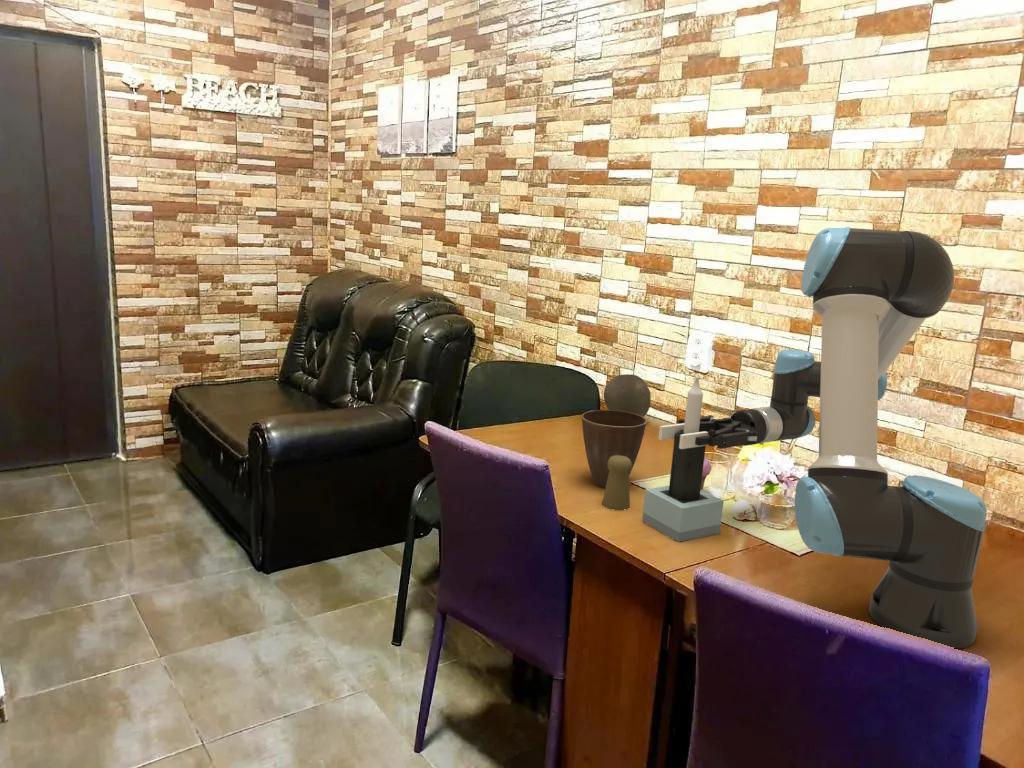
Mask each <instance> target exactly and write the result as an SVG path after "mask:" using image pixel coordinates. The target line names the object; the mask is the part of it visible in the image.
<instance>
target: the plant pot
mask: <svg viewBox="0 0 1024 768" xmlns="http://www.w3.org/2000/svg"><path fill="white" fill-rule="evenodd" d="M647 422H648V421H647V418H645V416H644V417H642V416H640V415H637V414H634V413H630V412H624V411H617V410H609V409H597V410H589V411H586V412H584V413H582V415H581V424H582V426H581V427H582V435H583V443H584V447H585V454H586V459H587V463H588V468H589V471H590V474H591V479H592V480H593V483H594V485H597V486H599V487H601V488H606V484H607V479H608V475H609V469H608V465H607V464H608V460H609V458H610V457H612V456H615V455H620V456H625V457H628V458H629V459H630V460H631V462H632V468H631V470H630V472H629V473H628V474H629V476H630V475H631V473H632V470H633V468H634V465H635V462H637V461H636V460H637V457H638V455H639V453H640V449H641V447H642V446H641V445H642V441H643V438H644V434H645V431H646V426H647Z"/></svg>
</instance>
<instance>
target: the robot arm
mask: <svg viewBox="0 0 1024 768" xmlns="http://www.w3.org/2000/svg"><path fill="white" fill-rule="evenodd" d="M954 283H955V271H954V266H953V263H952V260H951V257H950V255H949V253H948V252H947V250H946V249H945V248H944V247H943V245H942V244H940V243H939V241H938V240H935V238H933V237H931V236H930V235H927V234H924V233H922V232H918V231H915V230H914V231H913V230H912V231H911V230H887V229H873V228H872V229H871V228H870V229H869V228H857V227H854V228H853V227H850V226H847V227H826V228H823V229H821V230H820V231H819V232H818V233H817V235H816V236H815V237H814V238H813V241H812V243H811V245H810V247H809V250H808V251H807V255H806V258H805V262H804V266H803V269H802V276H801V292H802V294H803V296H807V297H808V298H811V297H812V310H813V311H815V312H816V314H818V316H820V317H821V349H820V350H821V351H820V352H821V354H820V357H821V358H820V361H816V360H815V354H814V353H812V352H810V351H806V350H801V349H800V350H799V349H782V350H781V351H779V352H778V353H777V356H776V361H775V364H774V365H775V366H774V368H773V369H774V370H773V380H772V390H771V396H770V401H769V406H760V407H753V408H747V409H739V410H736V411H735V412H734V413H733V414H732V415H731V416H730V417H723V418H714V417H715V416H714V415H712V414H711V415H710V414H709V415H706V416H700V425H699V432H696V433H689V434H681V435H680V443H679V448H680V449H686V448H693V447H700V446H709V447H715V446H717V447H716V449H718V450H719V449H720V450H721V449H727V448H734V447H739V446H740V447H741V446H743V447H745V446H746V447H747V446H754V445H758V444H759V445H762V446H764V444H765V443H772V442H778V441H786V440H796V439H799V438H802V437H806V436H808V435H809V434H810V433H812V431H814V428H815V425H816V418H815V413H814V411H813V409H812V408H811V407H810V406H809V405H808V404H809V403H808V402H809V399H810V397H815V398H819V422H818V423H819V425H818V426H819V431H818V457H817V459H816V460H815V461H814V462H813V463H812V464H811V465H809V466H808V468H807V476H804V477H802V478H800V479H799V480H798V481H797V483H796V486H795V493H794V513H795V520H796V525H797V529H798V533H799V535H800V538H801V540H802V543H804V545H805V546H806V547H807V548H808V549H809V550H811V551H812V552H813V553H814V552H815V553H821V554H825V555H826V554H827V555H831V556H834V557H848V558H859V559H870V560H880V561H889V562H888V568H887V569H886V571H885V573H884V575H883V576H882V577H881V580H880V581H879V582H878V584H877V586H876V588H875V589H874V590H873V592H872V594H871V596H870V601H869V606H868V613H869V616H870V617H871V619H872V620H874V622H875V623H876V624H877V625H879V626H880V627H881V626H883V627H886V628H890V629H893V630H896V631H899V632H903V633H906V634H910V635H913V636H917V637H921V638H925V639H928V640H931V641H934V642H937V643H941V644H944V645H947V646H950V647H954V648H957V649H956V650H958V649H964V648H967V647H969V646H971V645H972V644H974V643H975V641H976V637H977V636H976V635H977V632H978V621H977V614H976V609H975V603H974V597H973V591H972V588H973V583H974V579H975V575H976V570H977V565H978V561H979V557H980V552H981V546H982V542H983V541H982V540H983V537H984V532H986V524H987V523H986V520H987V513H988V510H987V506H986V503H985V501H983V500H982V498H981V497H979V495H977V494H976V493H974V492H971V490H968V489H966V488H964V487H961V486H959V485H956V484H954V483H951V482H948V481H944V480H941V479H938V478H934V477H929V476H925V475H916V474H915V475H907V476H906V477H904V479H903V481H902V482H901V485H902V486H896V485H889V481H888V480H889V477H888V476H889V472H888V471H887V470H886V469H885V468H884V467H883V466H882V465H881V464H880V463H879V462H878V461H879V460H878V426H879V425H878V423H879V422H878V417H879V415H878V413H879V407H878V406H879V405H878V403H879V401H880V400H881V399H883V397H884V396H885V392H886V390H887V387H888V375H887V370H888V369H889V368H890V367H891V365H892V364H893V362H894V361H895V360H896V358H897V357H898V356H899V355H900V353H901V352H902V350H903V349H904V348H905V346H907V344H908V343H909V342H910V340H911V339H912V338H913V337H914V335H915V334H916V332H917V331H918V329H919V328H920V327H921V326H922V325H923V324H924V322H925V320H926V319H929V318H932V317H934V316H936V315H937V314H938V313H939V312H940V311H941V310H942V308H943V307H944V306H945V304H946V303H947V302H948V300H949V298H950V296H951V294H952V291H953V289H954ZM684 423H685V418H679V419H678V421H677V423H676V424H667V425H660V426H659V429H658V440H660V441H663V440H664V441H665V440H671V439H672V440H674V437H675V434H676V433H679V431H680V430H684ZM883 627H882V628H883Z"/></svg>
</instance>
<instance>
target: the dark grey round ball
mask: <svg viewBox="0 0 1024 768" xmlns="http://www.w3.org/2000/svg"><path fill="white" fill-rule="evenodd" d="M651 395H652V394H651V391H650V388H649V387H648V385H647V383H646V381H644V379H643V378H642V377H640V376H638V375H637V374H628V373H627V374H624V373H623V374H619V375H616V376H614V377H612V378H611V379H610V380H609V381H608V382H607V384H606V385H605V387H604V391H603V399H604V404H605V406H606V408H607V410H617V411H624V412H630V413H634V414H637V415H640V416H642V417H644V418H645V417H646V415H647V414H648V412H649V409H650V408H651V398H652V397H651Z"/></svg>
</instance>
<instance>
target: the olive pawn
mask: <svg viewBox="0 0 1024 768" xmlns="http://www.w3.org/2000/svg"><path fill="white" fill-rule="evenodd" d="M607 465H608V469H609V475H608V479H607V484H606V488H605V487H604V488H605V489H604V493H603V497H602V501H601V505H602V506H603V507H604V506H605V507H604V508H606V507H607V508H606V509H608V508H610V509H609V510H612V509H614V510H613V511H625V510H624V509H626V510H629V509H628V508H630V507H631V505H630V504H631V501H630V498H631V497H630V482H629V481H630V479H629V477H630V475H629V474H628V473H629V472H630V470H631V468H632V462H631V460H630V459H629V458H628V457H625V456H620V455H615V456H612V457H610V458H609V460H608V464H607ZM632 469H633V468H632Z"/></svg>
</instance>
